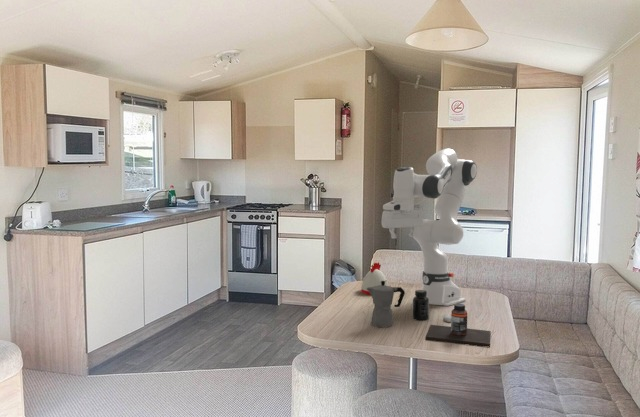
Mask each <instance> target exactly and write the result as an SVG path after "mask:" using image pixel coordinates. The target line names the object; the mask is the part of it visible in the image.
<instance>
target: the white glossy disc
mask: <svg viewBox="0 0 640 417" xmlns="http://www.w3.org/2000/svg"><path fill="white" fill-rule="evenodd" d="M443 321H445V322H447V323H450V324H451V314H445V315H443Z"/></svg>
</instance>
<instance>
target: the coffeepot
mask: <svg viewBox="0 0 640 417" xmlns="http://www.w3.org/2000/svg"><path fill="white" fill-rule="evenodd" d="M381 284H382V285H378V286H374V287H369V288H367V290H368V291H369V292H370V294H371V295H370V296H371V298H372V303H373V305H374V308H373V311H372V315H371V321H370V324H371V325H372V326H374V327H378V328H390V327H393V325H394V324H395V323H394V318H393V317H394V316H393V310H392V304H393V300H394V294H395V293H398V292H399V293H400V294H399V297H398V299H397V303H396V304H394V307H395V308H400V307H401V304H402V302H403V299H404V296H405V294H406V292H405V290H404V289H403V287H401V286H398V287H397V286H390V285H388V286H386V285H385V281H381Z"/></svg>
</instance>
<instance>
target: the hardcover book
mask: <svg viewBox="0 0 640 417" xmlns="http://www.w3.org/2000/svg"><path fill="white" fill-rule="evenodd" d="M491 333H492V332H491V330H483V329H477V328H476V329H474V328H467V334H466V335H463V336H457V335H454V334H452V333H451V326H448V325H440V324H439V325H438V324H430V326H429V328H428V330H427V333H426V335H425V341H430V342H439V343H441V342H442V343H450V344H458V345H465V344H469V345H468V346H474V345H477V346H476V347H483V346H489V347H488V348H490V347H491Z"/></svg>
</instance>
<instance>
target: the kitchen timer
mask: <svg viewBox="0 0 640 417" xmlns="http://www.w3.org/2000/svg"><path fill="white" fill-rule="evenodd" d="M381 267H382V265H381V264H380V263H379V262H374V263H373V265H371V268H370V270H369V271H368V272H367V273H366V275H364V277H363V278H362V284H361V291H362V292H361V293H362V294H364V293H365V295H370V296H371V294H370V292H369V291H368V290H367V288H369V287H374V286H378V285H382V284H381V281H385V285H386V286H389V280H388V279H387V277H386V276H385V274H384V273H383V272H382V271H381Z"/></svg>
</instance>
